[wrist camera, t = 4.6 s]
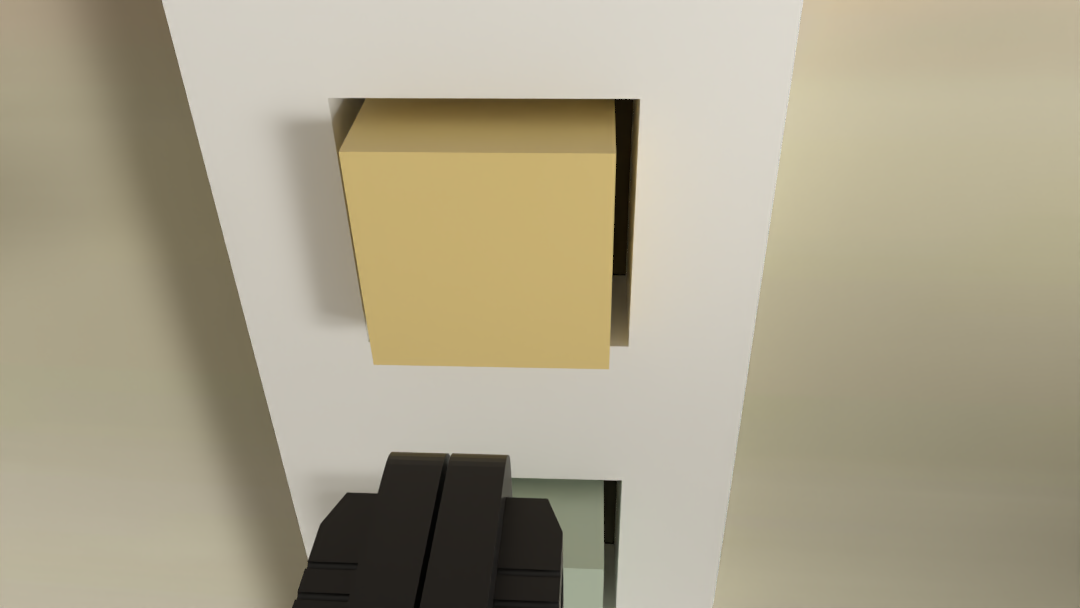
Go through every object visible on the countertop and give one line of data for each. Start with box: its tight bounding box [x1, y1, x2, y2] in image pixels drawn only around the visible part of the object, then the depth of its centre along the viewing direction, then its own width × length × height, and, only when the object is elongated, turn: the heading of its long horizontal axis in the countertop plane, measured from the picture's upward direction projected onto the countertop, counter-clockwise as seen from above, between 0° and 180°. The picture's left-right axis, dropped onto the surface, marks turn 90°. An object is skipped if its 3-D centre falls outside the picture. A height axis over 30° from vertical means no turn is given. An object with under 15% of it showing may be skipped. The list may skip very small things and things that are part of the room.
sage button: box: [511, 478, 604, 608], centre depth 22 cm, size 4×4×3 cm
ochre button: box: [339, 98, 616, 369], centre depth 17 cm, size 4×4×3 cm
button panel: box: [162, 0, 803, 608], centre depth 24 cm, size 10×32×3 cm, turn 1°
